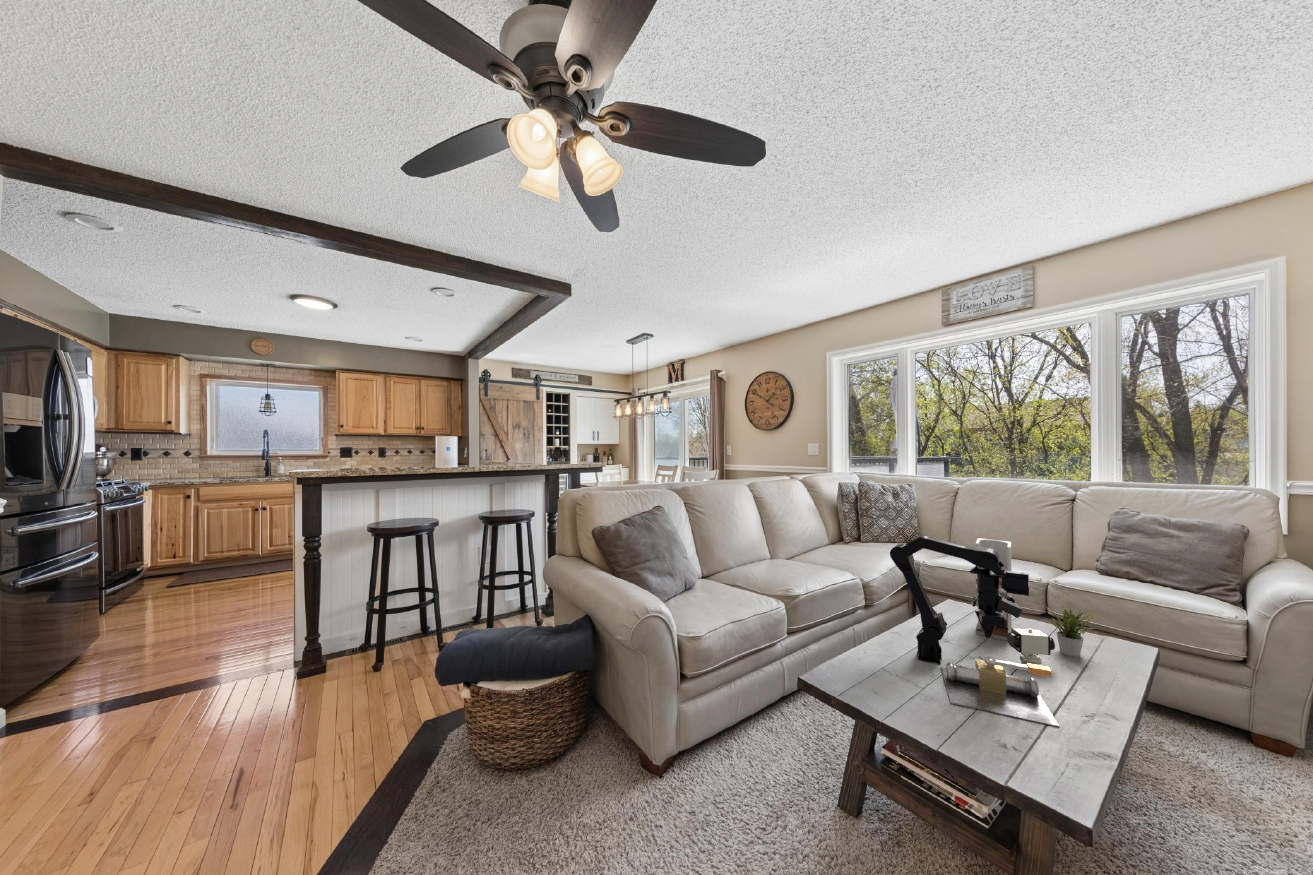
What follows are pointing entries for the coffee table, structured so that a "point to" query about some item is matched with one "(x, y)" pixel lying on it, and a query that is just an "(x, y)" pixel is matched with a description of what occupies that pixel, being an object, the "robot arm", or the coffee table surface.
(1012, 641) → the pneumatic valve
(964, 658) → the coffee table surface
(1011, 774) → the coffee table surface
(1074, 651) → the house plant
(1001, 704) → the pipe on metal plate
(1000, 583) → the white shelf tower
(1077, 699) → the coffee table surface
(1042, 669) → the valve lever
